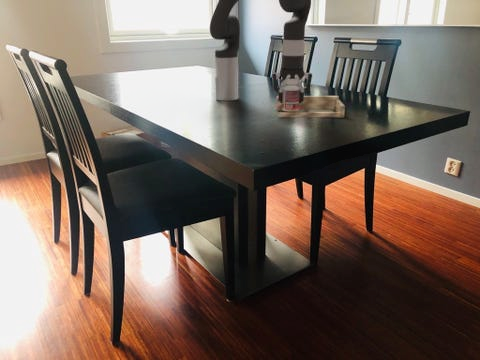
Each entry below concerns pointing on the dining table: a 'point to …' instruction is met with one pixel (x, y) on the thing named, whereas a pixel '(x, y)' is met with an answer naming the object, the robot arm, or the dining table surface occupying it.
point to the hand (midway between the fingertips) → (290, 102)
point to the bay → (316, 107)
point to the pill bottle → (291, 96)
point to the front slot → (320, 110)
